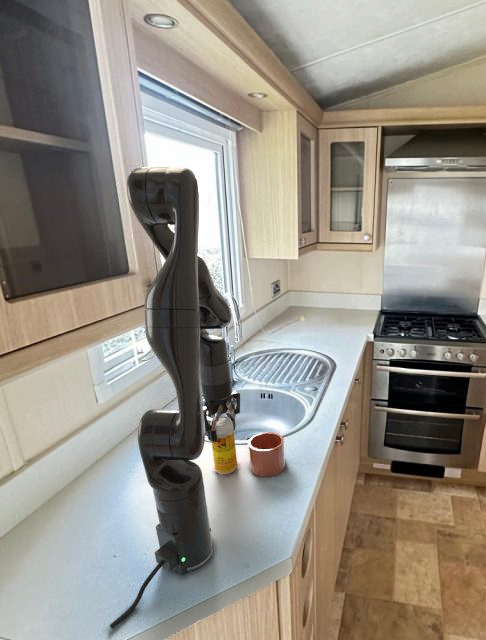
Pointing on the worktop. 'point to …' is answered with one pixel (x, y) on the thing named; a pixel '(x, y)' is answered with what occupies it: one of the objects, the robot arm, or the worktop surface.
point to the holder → (266, 454)
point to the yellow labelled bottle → (224, 446)
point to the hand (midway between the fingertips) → (222, 435)
